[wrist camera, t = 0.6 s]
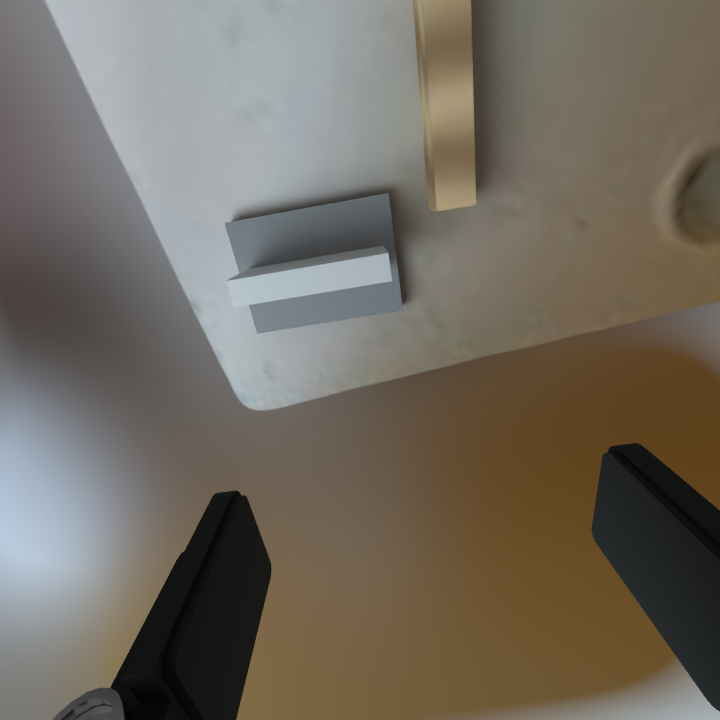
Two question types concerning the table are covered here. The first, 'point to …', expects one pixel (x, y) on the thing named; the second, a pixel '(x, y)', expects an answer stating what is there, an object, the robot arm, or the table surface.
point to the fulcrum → (316, 264)
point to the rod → (446, 100)
